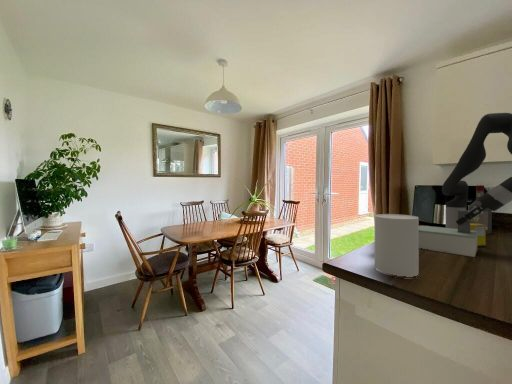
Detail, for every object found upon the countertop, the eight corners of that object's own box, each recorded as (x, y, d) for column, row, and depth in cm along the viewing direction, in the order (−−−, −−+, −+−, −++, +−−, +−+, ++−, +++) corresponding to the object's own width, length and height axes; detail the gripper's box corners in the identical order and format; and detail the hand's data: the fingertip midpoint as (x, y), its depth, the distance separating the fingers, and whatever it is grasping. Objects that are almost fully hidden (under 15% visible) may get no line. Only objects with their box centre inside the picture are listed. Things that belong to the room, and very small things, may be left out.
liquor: (473, 230, 147) (474, 185, 146) (492, 233, 139) (493, 185, 138) (466, 232, 143) (467, 185, 142) (486, 234, 135) (486, 185, 134)
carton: (413, 247, 111) (413, 231, 111) (420, 241, 122) (420, 227, 122) (474, 257, 95) (474, 238, 95) (477, 249, 106) (477, 232, 105)
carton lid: (413, 231, 111) (413, 209, 111) (420, 226, 122) (420, 207, 121) (474, 238, 95) (475, 212, 94) (477, 232, 105) (477, 209, 105)
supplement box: (475, 244, 115) (475, 223, 115) (485, 247, 109) (486, 225, 109) (462, 243, 116) (462, 223, 116) (472, 247, 110) (472, 225, 110)
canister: (420, 281, 72) (420, 220, 72) (373, 273, 79) (373, 217, 79) (416, 268, 83) (416, 215, 83) (376, 262, 91) (375, 213, 90)
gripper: (488, 191, 102) (452, 215, 111) (487, 192, 92) (448, 218, 102) (505, 203, 98) (467, 227, 107) (506, 205, 88) (464, 231, 98)
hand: (458, 223), depth 104 cm, fingers closed on carton lid, 3 cm apart
